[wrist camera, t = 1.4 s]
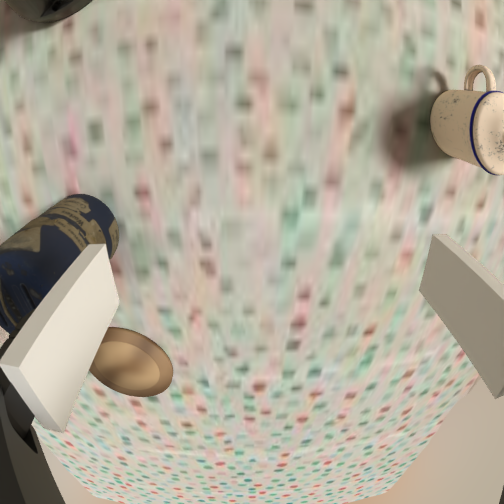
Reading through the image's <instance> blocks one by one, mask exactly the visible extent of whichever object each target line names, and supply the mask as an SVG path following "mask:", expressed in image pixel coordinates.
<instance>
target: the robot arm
mask: <svg viewBox="0 0 504 504" xmlns="http://www.w3.org/2000/svg"><path fill="white" fill-rule="evenodd" d="M5 1H6V3H7V4H8V5H9V6H10V7H11V8H12V9H13V10H14V11H15V13H17V14H18V15H19V16H21V17H22V18H25V19H28V20H31V21H35V22H40V23H47V22H53V21H57V20H60V19H63V18H65V17H68V16H70V15H72V14H73V13H75V12H77V11H78V10H80V9H81V8H83V7H84V6H86V5H87V4H88V3H89V2H91V1H92V0H5ZM419 291H420V292H421V294H422V295H423V296H424V297H425V299H426V300H427V301H428V303H429V304H430V305H431V306H432V308H433V309H434V310H435V312H436V313H437V314H438V316H439V317H440V318H441V320H442V321H443V322H444V324H445V325H446V327H447V328H448V329H449V331H450V332H451V333H452V335H453V336H454V338H455V339H456V340H457V342H458V343H459V345H460V346H461V348H462V349H463V350H464V352H465V353H466V355H467V356H468V358H469V359H470V361H471V362H472V364H473V365H474V367H475V368H476V370H477V371H478V373H479V374H480V376H481V377H482V379H483V380H484V382H485V384H486V385H487V387H488V388H489V390H490V391H491V393H492V395H493V396H494V398H495V399H496V398H498V397H501V396H503V395H504V284H503V283H502V282H501V281H500V280H498V279H497V278H496V277H495V276H494V275H493V274H492V273H491V272H490V271H489V270H488V269H486V268H485V267H484V266H483V265H482V264H481V263H480V262H479V261H477V260H476V259H475V258H474V257H473V256H472V255H471V254H469V253H468V252H467V251H466V250H465V249H464V248H462V247H461V246H460V245H459V244H458V243H456V242H455V241H454V240H453V239H452V238H450V237H449V236H448V235H447V234H433V235H432V240H431V244H430V249H429V253H428V258H427V262H426V266H425V270H424V274H423V277H422V281H421V285H420V289H419ZM119 304H120V301H119V297H118V293H117V290H116V286H115V282H114V278H113V274H112V270H111V266H110V262H109V257H108V253H107V248H106V244H89V245H88V246H87V247H86V248H85V249H84V250H83V252H82V253H81V254H80V255H79V256H78V257H77V259H76V260H75V261H74V262H73V263H72V264H71V266H70V267H69V268H68V269H67V270H66V272H65V273H64V274H63V275H62V276H61V278H60V279H59V280H58V281H57V283H56V284H55V285H54V286H53V288H52V289H51V290H50V291H49V293H48V294H47V295H46V296H45V298H44V299H43V300H42V302H41V303H40V304H39V306H38V307H37V308H36V309H33V310H32V311H31V312H29V313H28V314H27V315H25V316H24V317H23V318H22V319H21V320H20V322H19V323H18V324H17V326H16V327H15V330H13V331H12V333H11V334H10V335H9V339H7V340H6V341H5V342H4V344H3V345H2V347H1V348H0V504H65V502H64V500H63V497H62V496H61V493H60V491H59V489H58V487H57V485H56V482H55V480H54V478H53V476H52V474H51V471H50V468H49V466H48V464H47V461H46V459H45V456H44V453H43V451H42V448H41V445H40V443H39V440H38V437H37V434H36V431H35V430H34V428H33V426H32V425H31V424H32V421H33V419H34V417H35V418H36V419H37V420H38V422H39V423H40V424H41V425H42V427H43V428H45V429H49V430H53V431H57V432H61V433H64V431H65V428H66V426H67V423H68V420H69V418H70V415H71V413H72V410H73V407H74V405H75V402H76V400H77V397H78V395H79V392H80V390H81V387H82V385H83V383H84V380H85V378H86V376H87V373H88V371H89V369H90V366H91V364H92V362H93V359H94V357H95V355H96V353H97V350H98V348H99V346H100V344H101V342H102V339H103V337H104V335H105V333H106V331H107V329H108V327H109V324H110V322H111V320H112V318H113V316H114V314H115V312H116V310H117V308H118V306H119ZM499 504H504V487H503V491H502V495H501V499H500V502H499Z"/></svg>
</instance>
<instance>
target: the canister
mask: <svg viewBox="0 0 504 504" xmlns="http://www.w3.org/2000/svg"><path fill="white" fill-rule="evenodd" d="M118 241H119V230H118V225H117V222H116V219H115V217H114V215H113V214H112V212H111V211H110V209H109V208H108V207H107V206H106V205H105V204H104V203H103V202H102V201H100V200H98V199H97V198H95V197H93V196H90V195H85V194H75V195H71V196H69V197H66V198H65V199H63V200H62V201H60V202H59V203H57V204H56V205H54V206H53V207H51V208H50V209H48V210H47V211H46V212H44V213H43V214H42V215H40V216H39V217H37V218H36V219H34V220H32V221H31V222H29V223H28V224H27V225H25V226H24V227H23V228H22V229H20V230H19V231H18V232H16V233H15V234H14V235H13V236H11V237H10V238H9V239H8V240H6V241H5V242H4V243H3V244H2V245H0V326H1V327H2V328H3V329H4V330H6V331H7V332H8V333H9V334H11V333H12V331H13V330H15V327H16V326H17V324H18V323H19V322H20V320H21V319H22V318H23V317H24V316H25V315H27V314H28V313H29V312H31V311H32V310H33V309H36V308H37V307H38V306H39V304H40V303H41V302H42V300H43V299H44V298H45V296H46V295H47V294H48V293H49V291H50V290H51V289H52V288H53V286H54V285H55V284H56V283H57V281H58V280H59V279H60V278H61V276H62V275H63V274H64V273H65V272H66V270H67V269H68V268H69V267H70V266H71V264H72V263H73V262H74V261H75V260H76V259H77V257H78V256H79V255H80V254H81V253H82V252H83V250H84V249H85V248H86V247H87V246H88V245H89V244H106V248H107V253H108V257H109V260H110V259H111V258H112V257H113V255H114V253H115V251H116V249H117V246H118Z"/></svg>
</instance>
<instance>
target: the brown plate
mask: <svg viewBox="0 0 504 504" xmlns="http://www.w3.org/2000/svg"><path fill="white" fill-rule="evenodd" d="M89 371H90V372H91V373H92V374H93V375H94V376H95V377H96V378H97V379H98V380H99V381H100V382H101V383H103V384H104V385H106V386H107V387H109V388H111V389H113V390H115V391H117V392H120V393H122V394H126V395H130V396H136V397H149V396H154V395H157V394H160V393H162V392H163V391H165V390H166V389H167V388H168V387H169V385H170V383H171V381H172V377H173V367H172V363H171V361H170V359H169V357H168V356H167V354H166V353H165V352H164V351H163V349H162V348H161V347H160V346H158V345H157V344H156V343H155V342H153V341H152V340H151V339H149V338H147V337H146V336H144V335H142V334H140V333H137V332H135V331H132V330H128V329H124V328H117V327H108V329H107V331H106V333H105V335H104V337H103V339H102V342H101V344H100V346H99V348H98V350H97V353H96V355H95V357H94V359H93V362H92V364H91V366H90V369H89Z"/></svg>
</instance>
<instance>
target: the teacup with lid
mask: <svg viewBox="0 0 504 504" xmlns="http://www.w3.org/2000/svg"><path fill="white" fill-rule="evenodd" d="M481 72H483V73H484V75H485V78H486V92H481V91H473V83H474V79H475V77H476V76H477V75H478V74H479V73H481ZM430 124H431V131H432V134H433V137H434V139H435V141H436V143H437V145H438V146H439V147H440V149H441V150H442V151H443V152H445V153H446V154H448V155H450V156H452V157H455V158H458V159H461V160H463V161H466V162H468V163H471V164H474V165H476V166H479V167H481V168H483V169H484V170H485V171H486V172H488V173H490V174H493V175H504V93H503V92H500V91H496V85H495V78H494V75H493V73H492V72H491V70H490V69H489V68H487V67H485V66H482V65H476V66H473V67H472V68H471V69H470V70H469V71H468V72H467V74H466V77H465V82H464V90H449V91H446V92H444V93H442V94H441V95H440V96H439V97H438V98H437V99H436V101H435V103H434V105H433V107H432V110H431V116H430Z"/></svg>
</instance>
